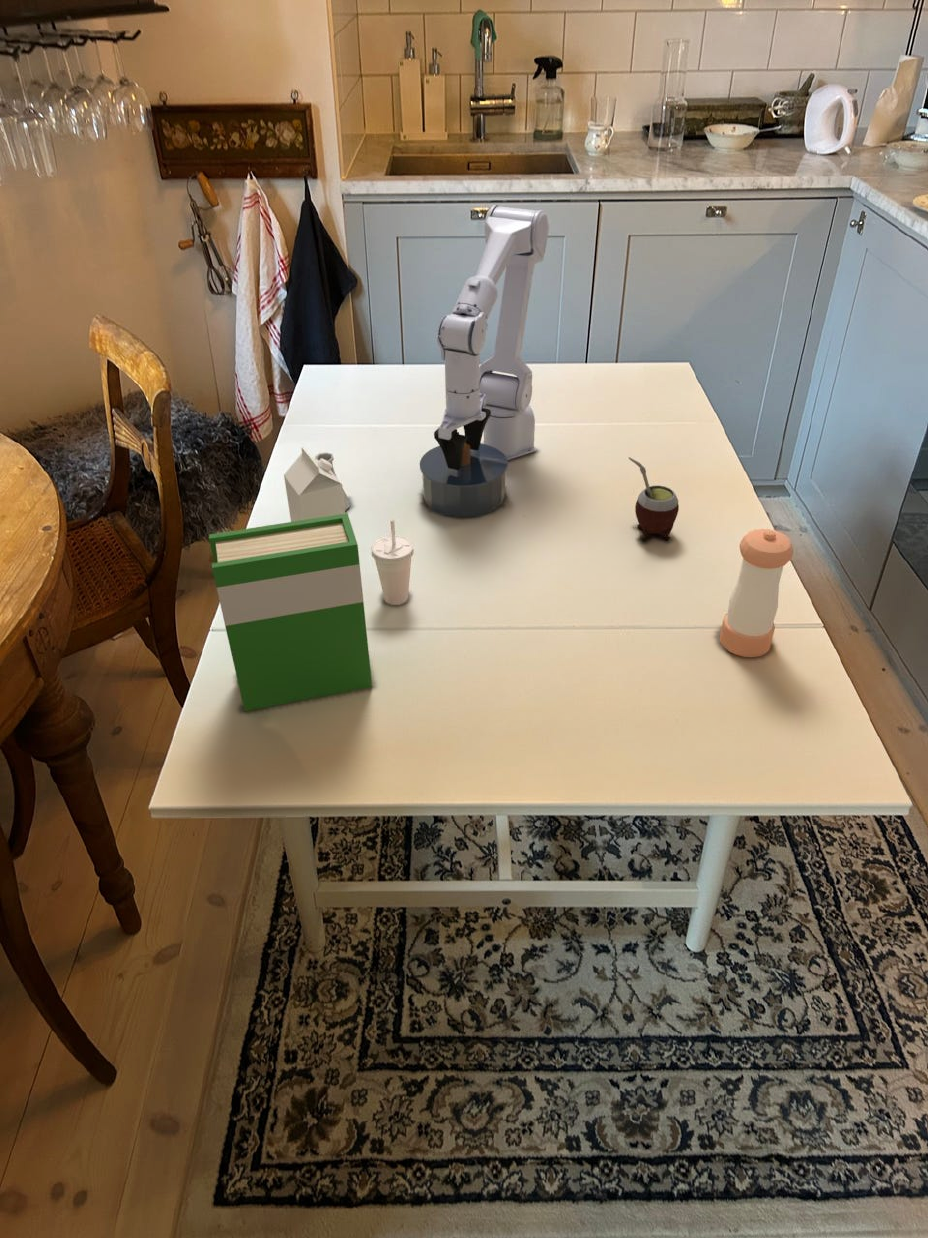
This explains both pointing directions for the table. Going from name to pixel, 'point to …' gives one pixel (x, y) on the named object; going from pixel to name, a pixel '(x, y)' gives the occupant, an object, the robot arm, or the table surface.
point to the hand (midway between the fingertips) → (463, 458)
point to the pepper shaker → (756, 593)
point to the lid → (465, 467)
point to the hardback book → (293, 609)
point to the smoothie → (393, 565)
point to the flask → (330, 458)
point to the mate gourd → (655, 509)
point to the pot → (464, 498)
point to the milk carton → (313, 489)
